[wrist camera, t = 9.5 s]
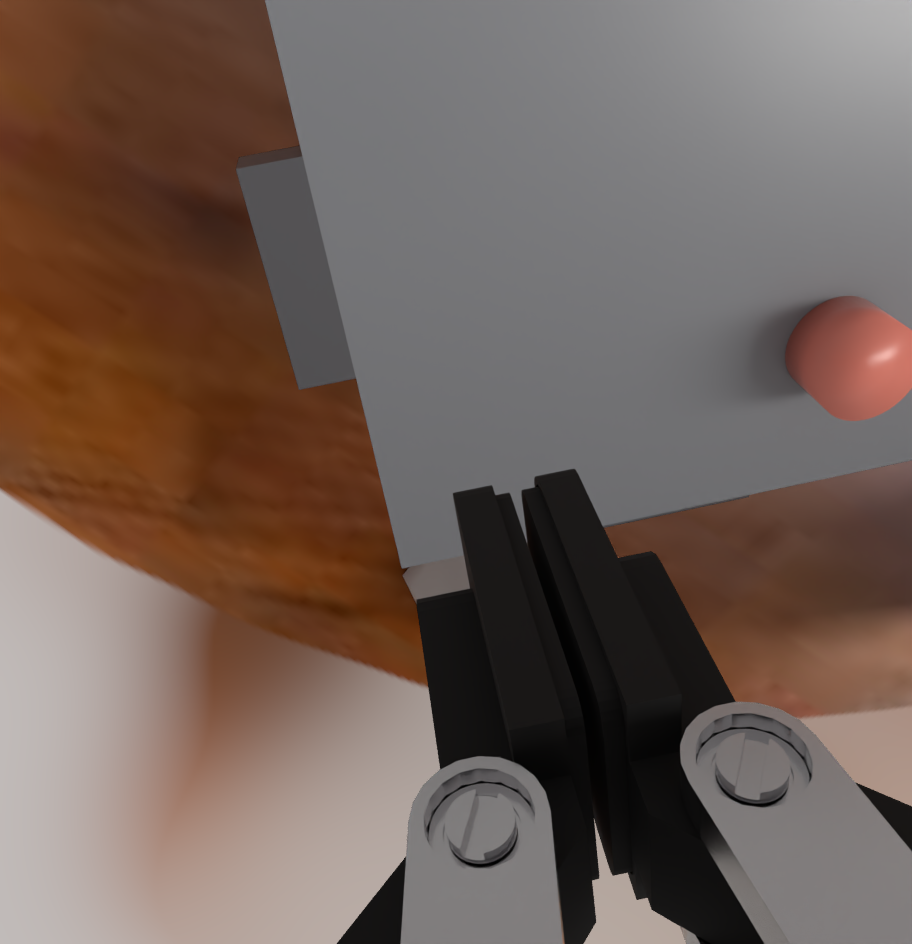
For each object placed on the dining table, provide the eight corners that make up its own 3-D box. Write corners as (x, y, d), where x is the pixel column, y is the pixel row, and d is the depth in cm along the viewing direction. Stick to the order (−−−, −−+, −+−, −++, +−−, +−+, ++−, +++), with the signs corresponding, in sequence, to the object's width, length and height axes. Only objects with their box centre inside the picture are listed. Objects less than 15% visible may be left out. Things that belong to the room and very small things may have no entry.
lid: (1137, -367, 18) (1294, -421, 15) (962, 421, 29) (1034, 476, 27) (141, -196, 17) (108, -219, 14) (351, 550, 29) (356, 621, 26)
